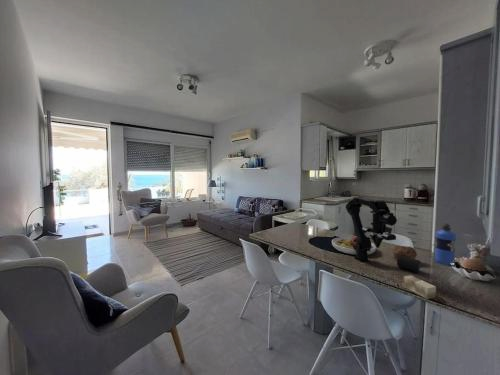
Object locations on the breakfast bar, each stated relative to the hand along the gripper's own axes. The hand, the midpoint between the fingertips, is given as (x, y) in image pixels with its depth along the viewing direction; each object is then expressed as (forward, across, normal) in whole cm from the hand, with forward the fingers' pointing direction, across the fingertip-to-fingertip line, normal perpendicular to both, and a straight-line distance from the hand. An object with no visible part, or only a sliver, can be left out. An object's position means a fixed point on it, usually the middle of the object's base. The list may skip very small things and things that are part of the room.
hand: (377, 247), depth 122 cm
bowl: (+14, +32, -11) cm, 36 cm away
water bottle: (+13, -4, -49) cm, 51 cm away
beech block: (+11, -18, +1) cm, 21 cm away
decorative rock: (+13, +5, -27) cm, 31 cm away
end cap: (+13, -6, -17) cm, 22 cm away
